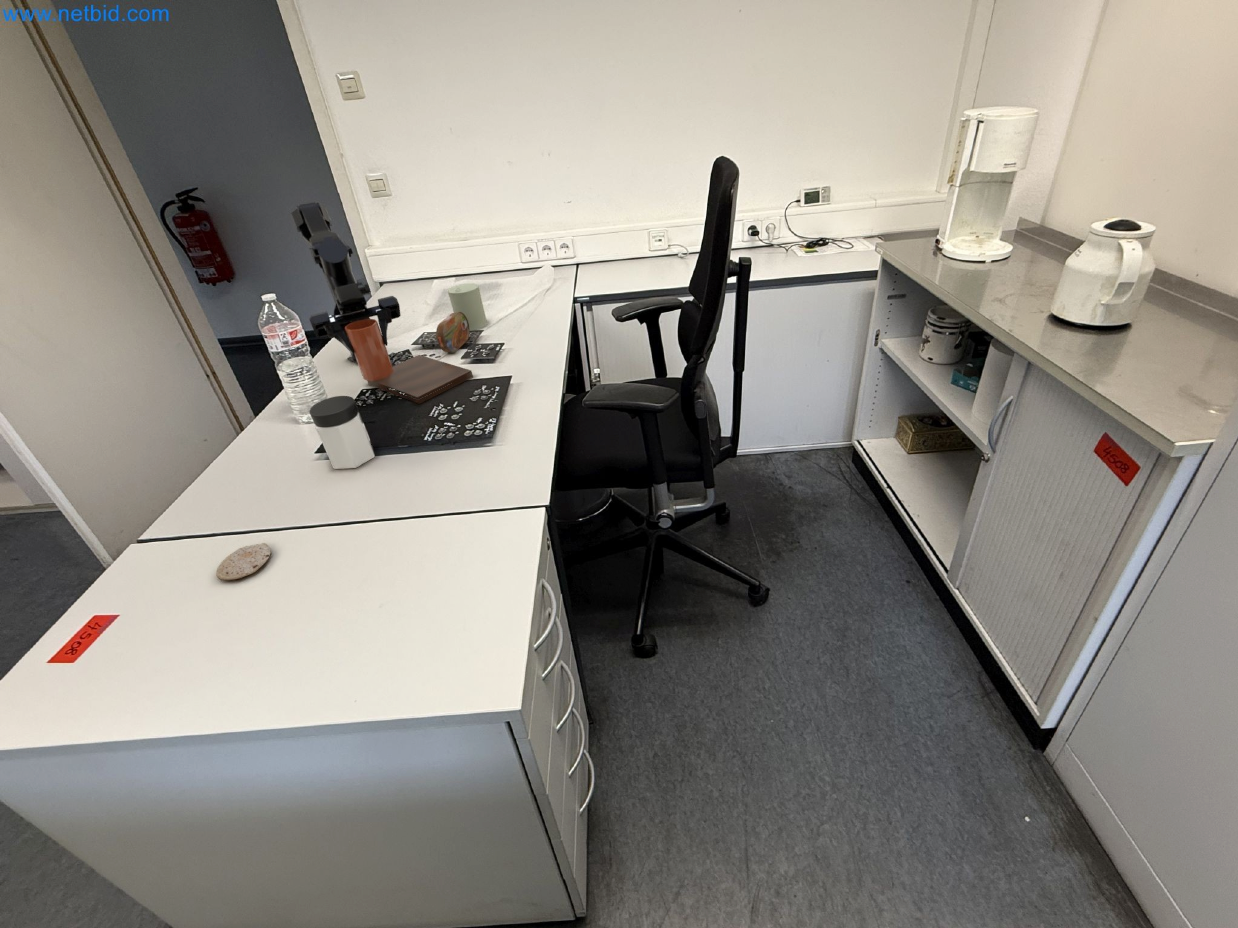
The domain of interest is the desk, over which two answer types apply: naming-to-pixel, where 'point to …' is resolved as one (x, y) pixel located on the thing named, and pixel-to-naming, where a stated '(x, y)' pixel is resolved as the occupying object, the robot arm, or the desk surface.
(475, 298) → the can
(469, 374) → the board
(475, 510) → the desk surface
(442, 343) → the tin
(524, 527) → the desk surface
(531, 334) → the desk surface
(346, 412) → the jar
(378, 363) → the pen cup
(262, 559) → the flatbread
